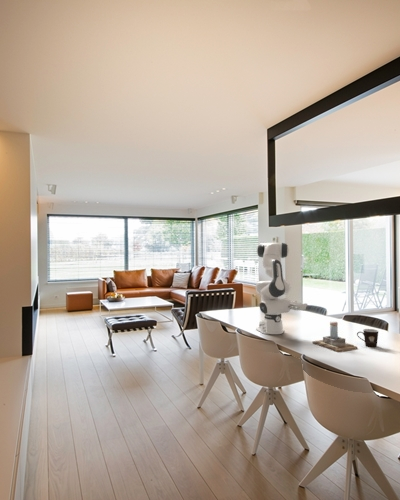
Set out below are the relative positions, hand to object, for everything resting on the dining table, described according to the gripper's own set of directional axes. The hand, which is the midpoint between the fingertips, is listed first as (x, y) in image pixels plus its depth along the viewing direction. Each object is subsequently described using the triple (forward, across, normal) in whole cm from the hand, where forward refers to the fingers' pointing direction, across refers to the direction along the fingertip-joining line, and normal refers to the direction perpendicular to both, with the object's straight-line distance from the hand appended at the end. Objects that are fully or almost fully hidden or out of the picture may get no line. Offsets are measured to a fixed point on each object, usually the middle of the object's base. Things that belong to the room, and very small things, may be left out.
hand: (301, 303), depth 216 cm
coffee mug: (+38, -18, +28) cm, 51 cm away
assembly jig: (+19, -9, +27) cm, 34 cm away
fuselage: (+19, -9, +26) cm, 33 cm away
